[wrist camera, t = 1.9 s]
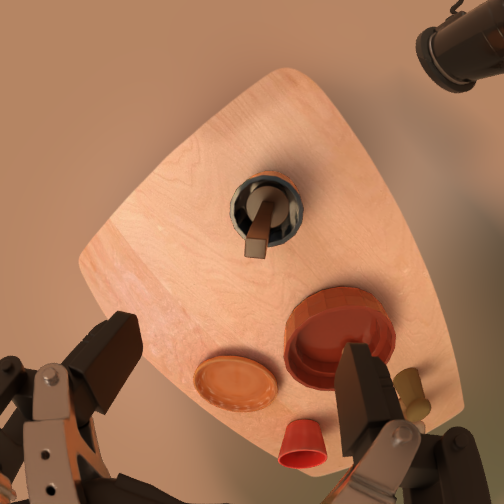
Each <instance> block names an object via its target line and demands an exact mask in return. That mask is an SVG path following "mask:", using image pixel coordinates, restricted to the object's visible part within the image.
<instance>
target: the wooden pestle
mask: <svg viewBox="0 0 504 504" xmlns="http://www.w3.org/2000/svg"><path fill="white" fill-rule="evenodd" d="M246 211H247V214H248V217H249V218H250V220H251V221H252V222H253V223H252V225H251V227H250V229H249V231H248V234H247V236H246V238H245V254H244V256H245V257H250V258H260V259H265V257H266V251H267V246H268V240H269V235H270V229H271V228H274V227H277V226H279V225H280V224H282V223H283V222H284V221H285V220H286V218H287V216H288V214H289V198H288V194H287V192H286V190H285V189H284V188H283V187H282V186H281V185H279V184H278V183H275V182H264V183H262V184H260V185H258V186H257V187H256V188H255V189H254V190H253V192H252V193H251V194H250V195H249V197H248V199H247V202H246Z"/></svg>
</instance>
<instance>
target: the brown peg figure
mask: <svg viewBox="0 0 504 504" xmlns="http://www.w3.org/2000/svg"><path fill="white" fill-rule="evenodd" d="M393 385H394V387H395V389H396V390H397V392H398V394H399V396H400V397H401V399H402V401H403V403H404V405H405V407H406V408H407V409H406V417H407V419H408V420H409V421H411V422H417V421H420V420H422V419H424V418H425V417H426V416H427V415H428V414H429V413H430V411H431V404H430V402H429V401H428V400H427V399H425V396H424V392H423V388H422V384H421V380H420V376H419V373H418V370H417V369H416V368H408V369H405V370H403V371H401V372H400V373H399V374H397V375H396V377H395V378H394V380H393Z"/></svg>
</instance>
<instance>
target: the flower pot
mask: <svg viewBox="0 0 504 504" xmlns="http://www.w3.org/2000/svg"><path fill="white" fill-rule="evenodd" d="M326 460H327V452H326V448H325V444H324V440H323V436H322V433H321V429H320V426H319V424H318V423H317V422H316V421H313V420H308V419H301V420H296V421H293V422H291V423H290V424H289V425H288V426H287V428H286V432H285V435H284V439H283V442H282V446H281V449H280V453H279V457H278V461H279V463H280V464H281V465H283V466H285V467H289V468H296V469H302V468H311V467H315V466H318V465H320V464H322V463H324V462H325V461H326Z"/></svg>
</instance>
